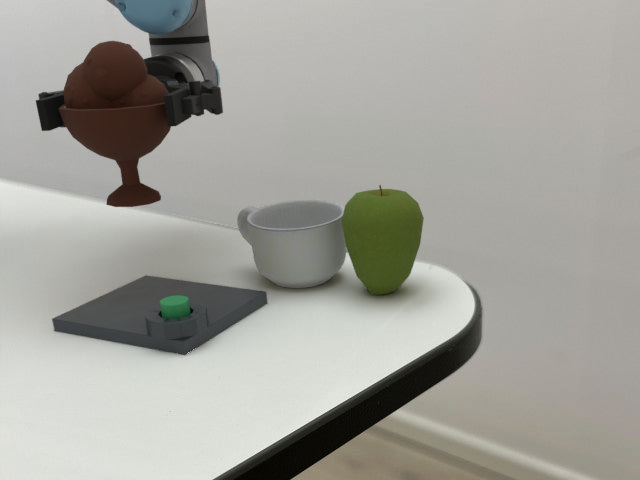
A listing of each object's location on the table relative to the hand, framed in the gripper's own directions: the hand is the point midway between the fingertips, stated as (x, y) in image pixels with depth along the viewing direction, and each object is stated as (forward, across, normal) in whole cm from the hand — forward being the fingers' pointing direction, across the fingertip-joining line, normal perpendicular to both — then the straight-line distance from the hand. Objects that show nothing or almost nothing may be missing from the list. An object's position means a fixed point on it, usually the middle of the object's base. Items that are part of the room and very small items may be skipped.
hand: (106, 113), depth 70 cm
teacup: (-11, -15, -20) cm, 27 cm away
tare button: (+7, -6, -17) cm, 20 cm away
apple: (-5, -25, -20) cm, 33 cm away
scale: (+1, -3, -20) cm, 20 cm away
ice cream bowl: (-4, 0, -9) cm, 10 cm away
